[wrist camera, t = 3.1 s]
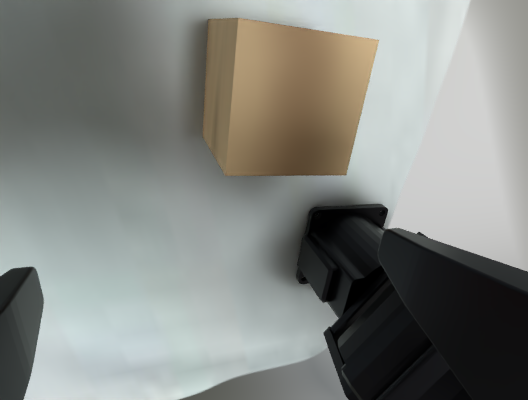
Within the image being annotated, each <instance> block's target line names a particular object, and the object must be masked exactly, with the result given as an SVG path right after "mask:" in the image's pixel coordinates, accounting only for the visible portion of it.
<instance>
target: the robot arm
mask: <svg viewBox="0 0 528 400" xmlns="http://www.w3.org/2000/svg"><path fill="white" fill-rule="evenodd" d="M380 211H381V212H380ZM317 213H319V214H318V215H317V216H315V215H316V214H317ZM387 213H388V209H387V208H386V207H385V206H383V205H361V206H336V207H316V208H313V209H312V210H311V211H310V213H309V217H308V222H307V227H306V232H305V235H304V237H303V239H302V244H301V249H300V254H299V259H298V264H297V265H298V271H297V276H296V278H297V280H298V282H299V283H300V284H307V283H309V284H310V285H311V287H312V288H313V290H314V291H315V293H316V294H317V296H318V297H319V299H320V300H321V301H322V302H323V303H324V302H328V304H329V305H330V307H331V308H332V309H333V311H334V312H335V314H336V315H337V317H338V318H339V319H338V320H337V321H336V322H335V323H334V324H333V325H332V326H331V327H328V328H327V330H326V331H325V332H324V336H325V339H326V342H327V345H328V348H329V351H330V354H331V357H332V359H333V362H334V365H335V368H336V371H337V373H338V376H339V379H340V382H341V385H342V387H343V390H344V393H345V395H346V397H347V398H348V399H349V400H528V272H527V271H524V270H521V269H518V268H515V267H512V266H509V265H506V264H503V263H500V262H498V261H494V260H491V259H489V258H486V257H483V256H480V255H477V254H474V253H471V252H468V251H465V250H462V249H459V248H456V247H453V246H450V245H447V244H444V243H441V242H438V241H435V240H433V239H430V238H428V237H426V236H425V235H423V234H422V233H420V232H418V233H417V234H415V233H412V232H409V231H406V230H403V229H400V228H392V229H385V228H384V227H383V226H384V223H385V220H386V217H387ZM304 276H305V277H304ZM302 277H303V278H302ZM43 304H44V299H43V294H42V290H41V286H40V282H39V278H38V274H37V271H36V269H35V268H34V267H23V268H14V269H11V270H9V271H8V272H6V273H5V274H3V275H2V276H0V400H23V399H24V396H25V393H26V390H27V386H28V383H29V379H30V376H31V372H32V367H33V362H34V357H35V351H36V345H37V340H38V334H39V329H40V323H41V317H42V312H43Z"/></svg>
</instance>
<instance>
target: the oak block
mask: <svg viewBox="0 0 528 400" xmlns="http://www.w3.org/2000/svg"><path fill="white" fill-rule="evenodd" d="M378 42H379V40H375V39H369V38H362V37H356V36H350V35H343V34H337V33H331V32H324V31H318V30H311V29H305V28H299V27H292V26H286V25H280V24H273V23H267V22H261V21H254V20H248V19H242V18H226V19H208V38H207V58H206V78H205V98H204V119H203V138H204V140H205V142H206V143H207V145H208V147H209V149H210V150H211V152H212V154H213V155H214V157H215V159H216V161H217V162H218V164H219V166H220V167H221V169H222V171H223V173H224V174H225V176H294V175H346V174H347V169H348V165H349V161H350V157H351V153H352V149H353V145H354V141H355V137H356V132H357V128H358V124H359V120H360V116H361V112H362V108H363V104H364V100H365V95H366V91H367V87H368V83H369V79H370V75H371V71H372V67H373V63H374V58H375V54H376V50H377V46H378Z"/></svg>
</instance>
